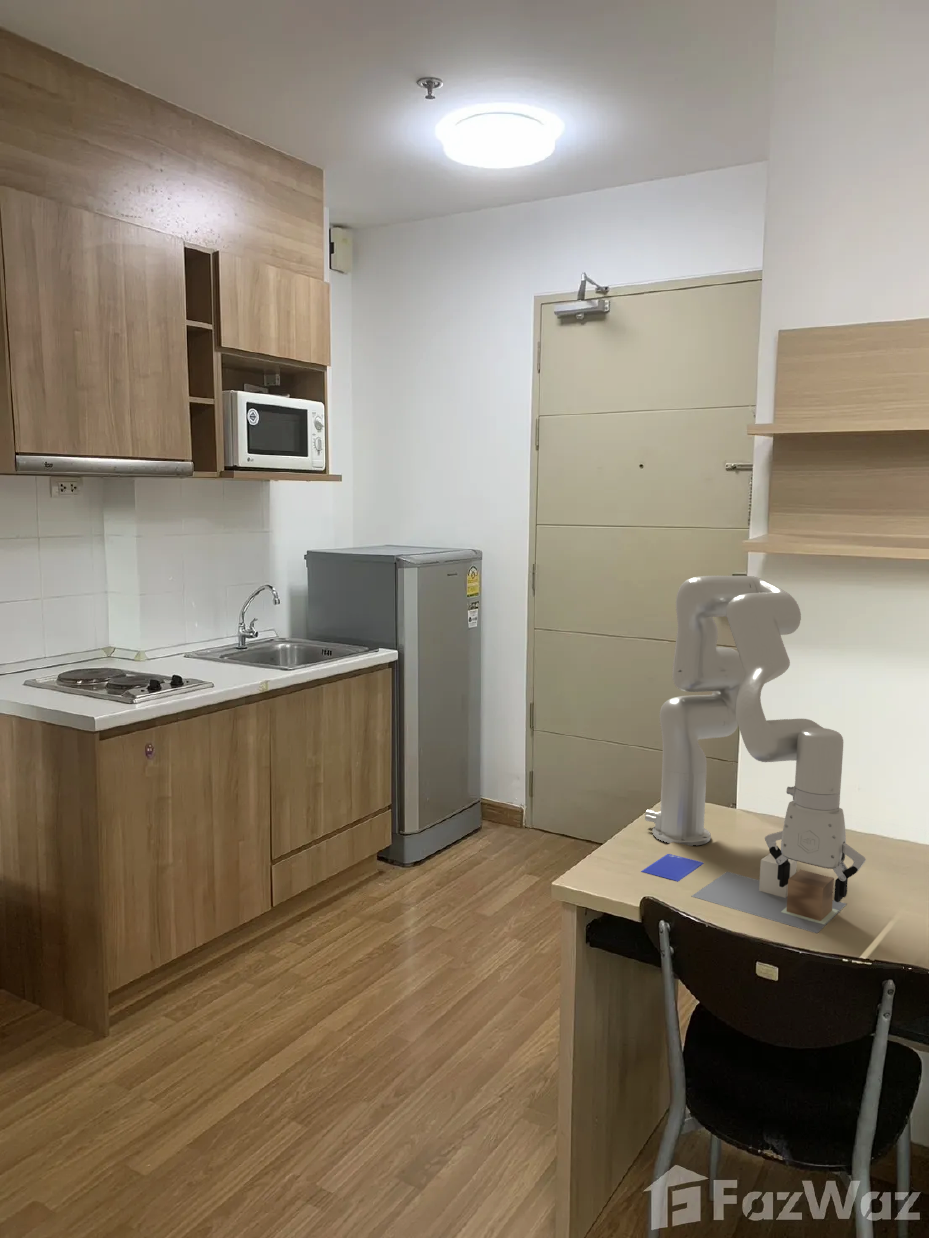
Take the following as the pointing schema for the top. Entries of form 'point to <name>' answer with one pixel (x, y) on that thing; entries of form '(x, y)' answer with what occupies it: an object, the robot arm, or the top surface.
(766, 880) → the cream block
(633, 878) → the top surface
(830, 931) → the top surface
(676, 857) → the blue square mat
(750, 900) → the board
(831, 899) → the walnut block
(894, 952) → the top surface
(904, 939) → the top surface
